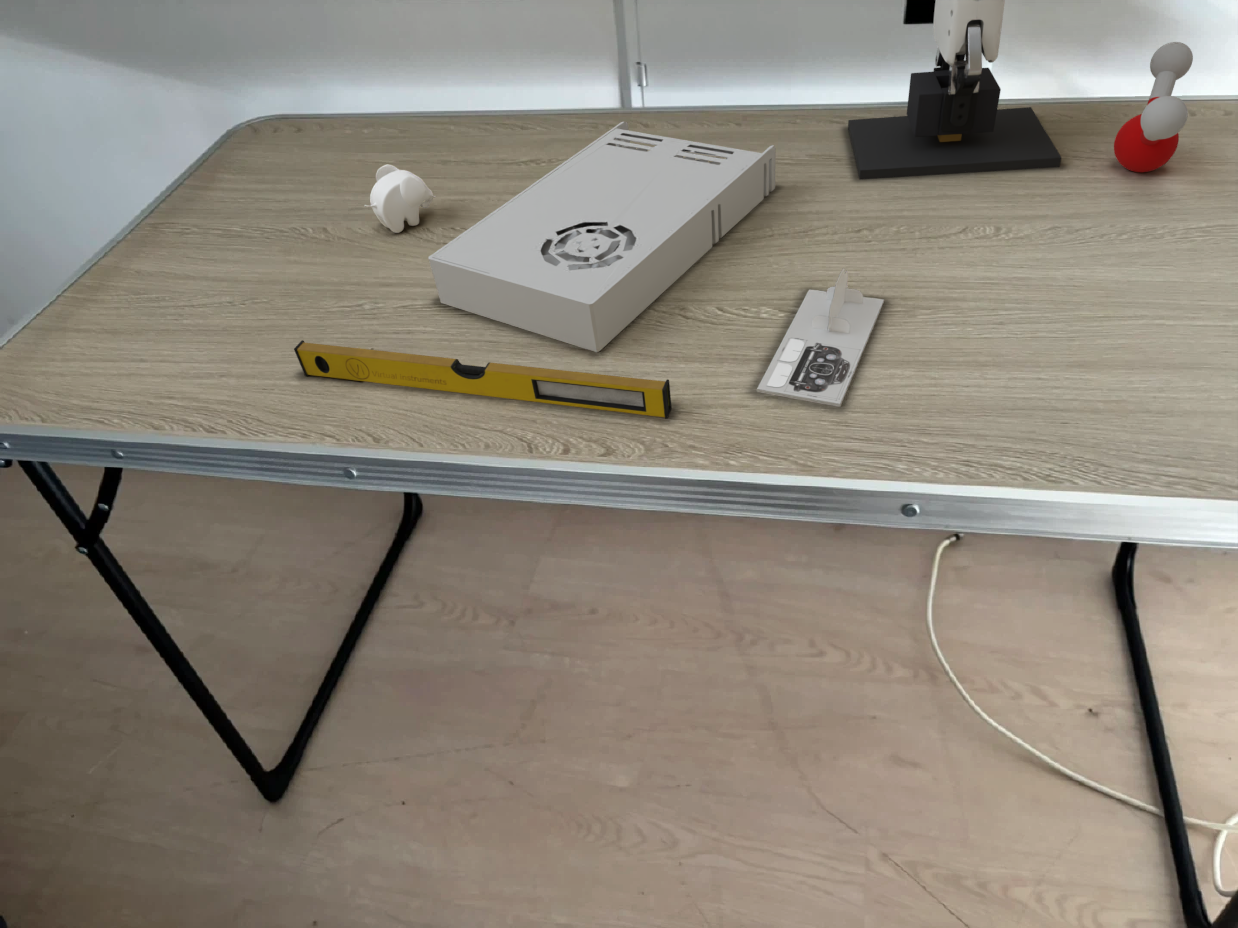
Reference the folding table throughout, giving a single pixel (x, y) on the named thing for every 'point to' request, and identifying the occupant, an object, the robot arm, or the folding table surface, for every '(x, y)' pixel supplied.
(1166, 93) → the molecular model
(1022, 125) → the base pad
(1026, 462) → the folding table surface
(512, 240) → the power supply unit
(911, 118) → the black socket block
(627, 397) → the spirit level
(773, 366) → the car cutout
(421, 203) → the elephant figurine
